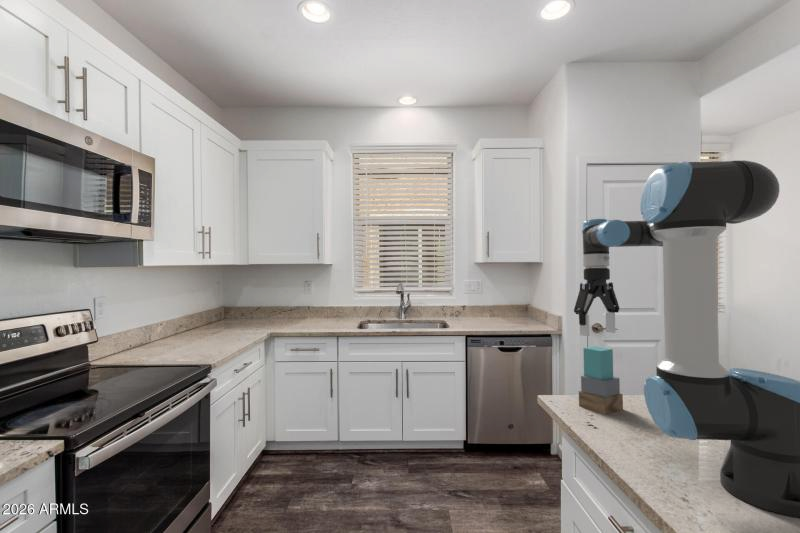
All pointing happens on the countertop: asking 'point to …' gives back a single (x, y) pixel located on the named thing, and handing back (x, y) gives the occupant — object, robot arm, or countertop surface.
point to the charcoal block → (600, 386)
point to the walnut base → (601, 403)
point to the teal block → (598, 362)
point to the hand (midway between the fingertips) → (598, 334)
